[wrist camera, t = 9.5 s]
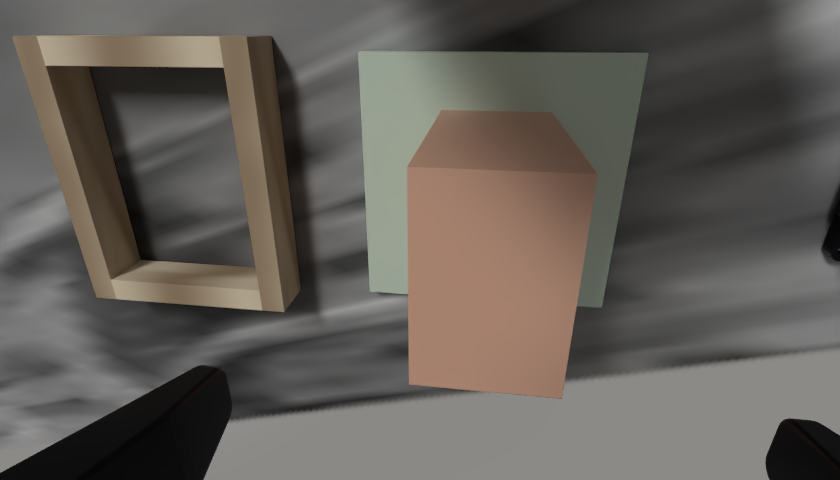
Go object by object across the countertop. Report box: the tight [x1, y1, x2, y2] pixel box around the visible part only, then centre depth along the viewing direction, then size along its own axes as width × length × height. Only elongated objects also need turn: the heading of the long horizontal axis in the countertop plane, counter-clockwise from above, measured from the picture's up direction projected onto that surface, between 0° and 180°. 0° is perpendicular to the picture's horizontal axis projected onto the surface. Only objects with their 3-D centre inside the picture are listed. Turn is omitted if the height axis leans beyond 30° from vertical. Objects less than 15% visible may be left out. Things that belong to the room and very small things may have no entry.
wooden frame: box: [12, 35, 301, 312], centre depth 20 cm, size 9×11×2 cm
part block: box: [407, 110, 598, 399], centre depth 15 cm, size 4×6×8 cm, turn 0°
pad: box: [358, 51, 649, 308], centre depth 19 cm, size 10×10×1 cm
